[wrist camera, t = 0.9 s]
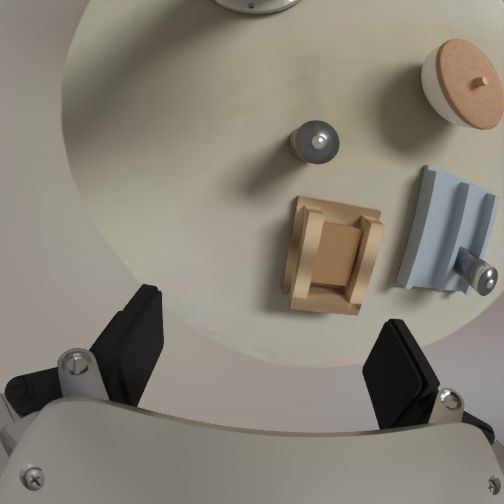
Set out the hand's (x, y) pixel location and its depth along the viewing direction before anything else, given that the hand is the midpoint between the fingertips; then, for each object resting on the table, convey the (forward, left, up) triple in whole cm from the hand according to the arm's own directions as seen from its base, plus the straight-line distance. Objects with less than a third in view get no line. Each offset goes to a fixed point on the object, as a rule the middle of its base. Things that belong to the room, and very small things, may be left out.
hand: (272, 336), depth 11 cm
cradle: (+4, +8, -22) cm, 24 cm away
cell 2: (+2, +28, -21) cm, 35 cm away
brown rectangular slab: (+3, +8, -20) cm, 22 cm away
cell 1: (-8, +3, -22) cm, 24 cm away
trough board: (-1, +25, -22) cm, 34 cm away
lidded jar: (-20, +20, -23) cm, 36 cm away
